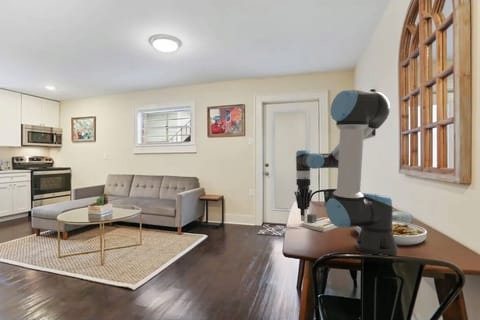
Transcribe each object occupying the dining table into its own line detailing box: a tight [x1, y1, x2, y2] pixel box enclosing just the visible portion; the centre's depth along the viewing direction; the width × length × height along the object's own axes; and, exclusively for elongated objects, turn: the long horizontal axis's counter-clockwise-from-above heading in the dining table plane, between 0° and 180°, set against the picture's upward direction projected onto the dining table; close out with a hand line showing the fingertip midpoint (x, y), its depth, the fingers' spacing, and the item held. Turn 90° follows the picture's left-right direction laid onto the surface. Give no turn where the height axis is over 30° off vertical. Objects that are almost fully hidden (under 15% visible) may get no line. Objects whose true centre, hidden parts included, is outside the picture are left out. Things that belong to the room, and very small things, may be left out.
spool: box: [392, 210, 414, 224], centre depth 143 cm, size 14×10×10 cm
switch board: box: [301, 216, 338, 233], centre depth 146 cm, size 22×14×2 cm, turn 129°
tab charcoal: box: [306, 213, 318, 223], centre depth 146 cm, size 4×4×4 cm
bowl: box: [354, 221, 428, 246], centre depth 125 cm, size 30×30×8 cm
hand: (303, 220), depth 141 cm, fingers closed
